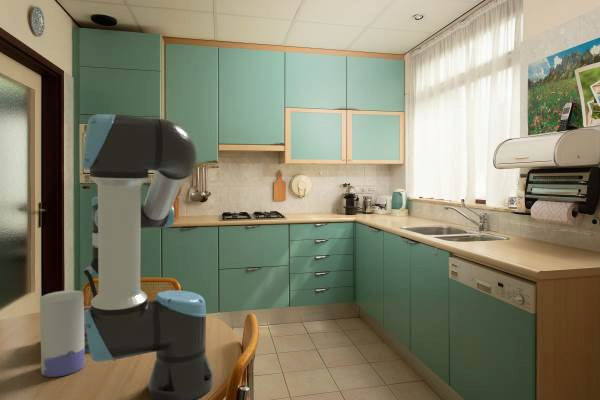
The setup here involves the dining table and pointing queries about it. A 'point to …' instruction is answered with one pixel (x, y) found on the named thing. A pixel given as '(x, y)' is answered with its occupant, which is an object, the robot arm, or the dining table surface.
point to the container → (62, 333)
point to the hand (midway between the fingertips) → (106, 319)
